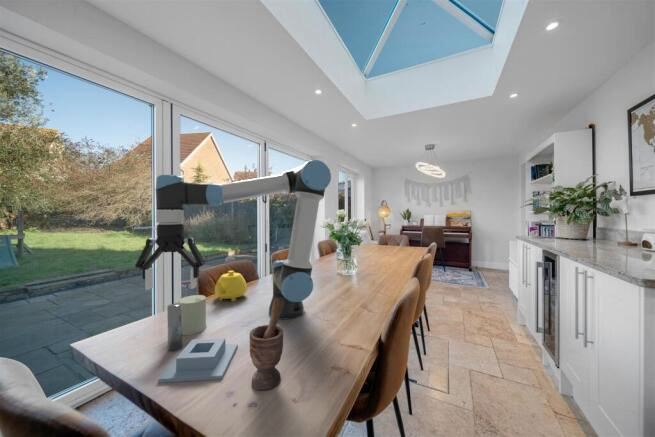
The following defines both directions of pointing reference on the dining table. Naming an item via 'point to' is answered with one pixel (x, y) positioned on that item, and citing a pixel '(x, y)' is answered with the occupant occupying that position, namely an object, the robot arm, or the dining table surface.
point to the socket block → (200, 361)
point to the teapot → (230, 286)
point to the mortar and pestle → (267, 350)
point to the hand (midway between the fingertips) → (171, 288)
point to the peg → (174, 326)
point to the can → (193, 314)
